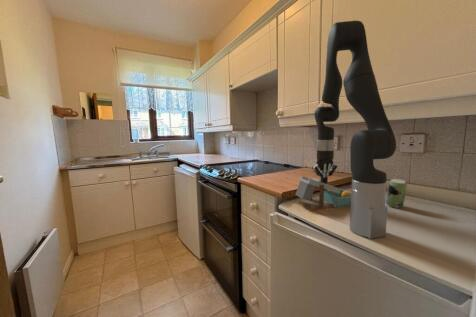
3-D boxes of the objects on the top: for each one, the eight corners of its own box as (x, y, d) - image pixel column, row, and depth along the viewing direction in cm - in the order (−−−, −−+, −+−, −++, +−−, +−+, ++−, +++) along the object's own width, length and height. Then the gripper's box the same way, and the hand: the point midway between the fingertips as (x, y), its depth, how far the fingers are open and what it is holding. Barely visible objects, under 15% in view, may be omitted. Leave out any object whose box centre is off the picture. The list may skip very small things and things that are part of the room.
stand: (309, 210, 85) (310, 186, 84) (297, 202, 95) (298, 181, 93) (334, 207, 88) (335, 184, 86) (319, 199, 97) (320, 179, 96)
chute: (303, 199, 85) (310, 177, 85) (290, 191, 96) (296, 172, 96) (334, 208, 90) (342, 187, 89) (318, 200, 101) (325, 181, 100)
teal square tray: (360, 204, 90) (361, 196, 89) (338, 207, 87) (339, 198, 87) (341, 196, 101) (342, 189, 101) (321, 199, 98) (322, 191, 98)
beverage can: (396, 203, 90) (399, 177, 88) (409, 210, 83) (411, 181, 81) (382, 203, 91) (383, 177, 89) (392, 209, 83) (395, 181, 82)
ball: (345, 201, 92) (352, 200, 93) (345, 192, 92) (353, 192, 93) (339, 198, 96) (346, 197, 97) (339, 190, 96) (346, 189, 97)
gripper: (318, 150, 90) (316, 187, 92) (342, 149, 93) (341, 185, 95) (308, 149, 97) (307, 183, 100) (331, 148, 100) (330, 181, 103)
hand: (324, 184), depth 98 cm, fingers closed
